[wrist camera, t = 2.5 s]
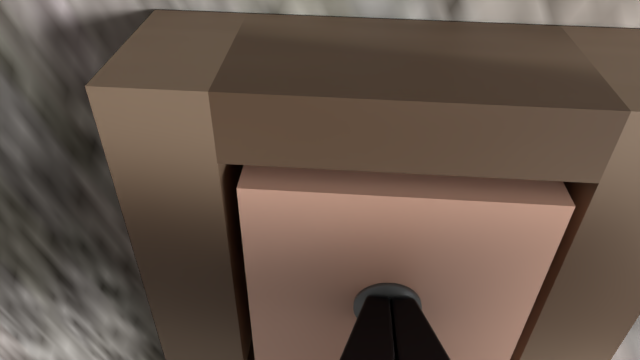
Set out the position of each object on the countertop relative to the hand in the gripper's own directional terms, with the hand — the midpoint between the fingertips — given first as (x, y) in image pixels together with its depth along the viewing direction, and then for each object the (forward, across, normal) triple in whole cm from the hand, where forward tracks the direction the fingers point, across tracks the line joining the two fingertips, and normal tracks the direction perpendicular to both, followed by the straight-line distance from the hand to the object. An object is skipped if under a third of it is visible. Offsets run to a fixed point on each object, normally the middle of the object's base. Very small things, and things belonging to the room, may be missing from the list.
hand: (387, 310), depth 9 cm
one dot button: (+3, 0, 0) cm, 3 cm away
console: (+3, 0, +7) cm, 8 cm away
